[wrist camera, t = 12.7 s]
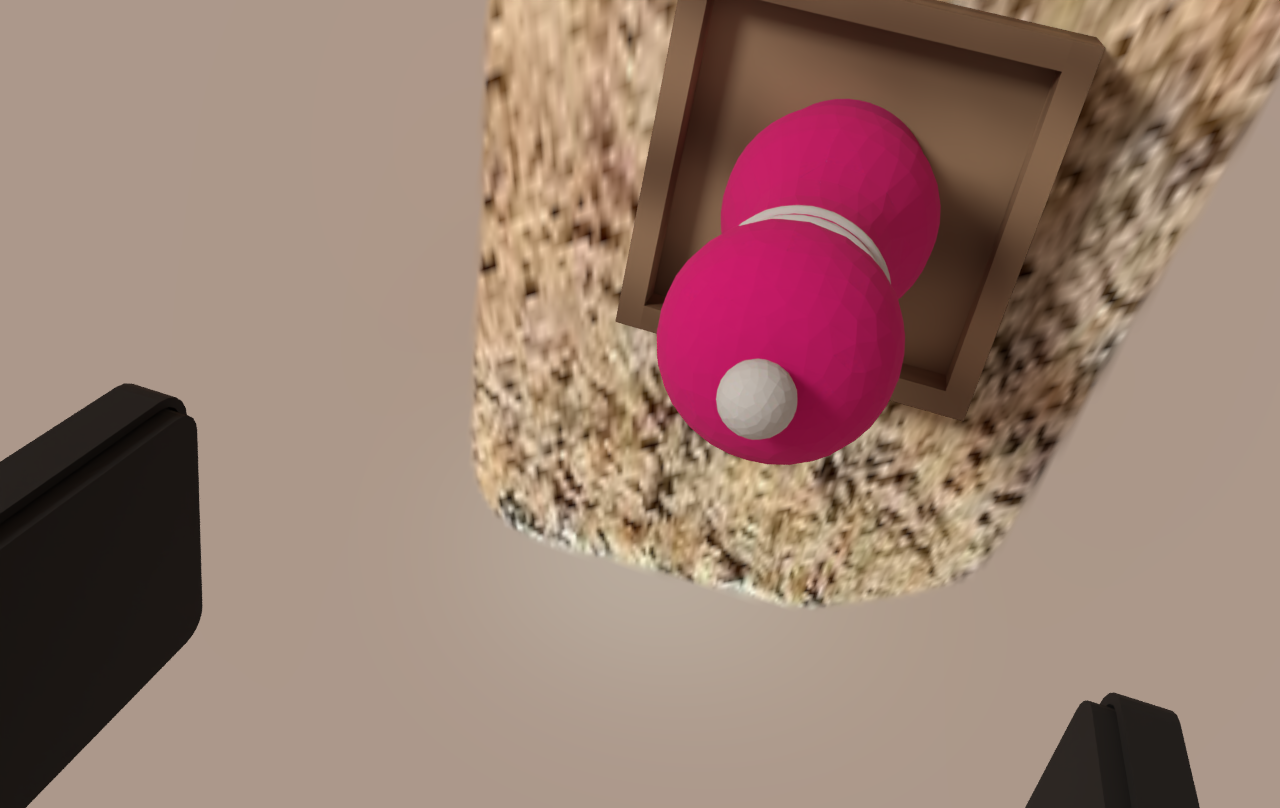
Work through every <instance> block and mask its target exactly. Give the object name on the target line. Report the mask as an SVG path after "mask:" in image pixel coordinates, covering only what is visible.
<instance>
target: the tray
mask: <svg viewBox="0 0 1280 808" xmlns="http://www.w3.org/2000/svg"><path fill="white" fill-rule="evenodd" d="M1104 49H1105V47H1104V46H1103V45H1102V43H1101V42H1100V41H1099V40H1098V39H1097V38H1096V37H1092V36H1088V35H1083V34H1079V33H1075V32H1070V31H1066V30H1062V29H1057V28H1053V27H1049V26H1045V25H1040V24H1036V23H1032V22H1027V21H1023V20H1019V19H1014V18H1010V17H1006V16H1001V15H997V14H993V13H988V12H984V11H980V10H976V9H971V8H967V7H963V6H958V5H954V4H950V3H945V2H941V1H937V0H678V2H677V7H676V12H675V17H674V23H673V28H672V33H671V38H670V43H669V48H668V54H667V59H666V64H665V69H664V74H663V79H662V84H661V90H660V95H659V100H658V105H657V110H656V115H655V121H654V126H653V131H652V136H651V141H650V146H649V152H648V157H647V162H646V167H645V172H644V177H643V182H642V188H641V193H640V198H639V203H638V208H637V213H636V219H635V224H634V229H633V234H632V239H631V244H630V250H629V255H628V260H627V265H626V270H625V275H624V280H623V286H622V291H621V296H620V301H619V306H618V311H617V317H616V322H618V323H622V324H625V325H629V326H632V327H636V328H639V329H643V330H646V331H650V332H653V333H657V329H658V324H659V319H660V313H661V309H662V306H663V303H664V301H665V298H666V295H667V293H668V291H669V289H670V287H671V285H672V283H673V281H674V279H675V277H676V275H677V274H678V272H679V271H680V270H681V269H682V267H683V266H684V265H685V263H686V262H687V261H688V260H689V259H690V258H691V257H692V256H693V255H694V254H695V253H696V252H698V251H699V250H700V249H701V248H702V247H703V246H704V245H706V244H707V243H708V242H709V241H710V240H712V239H714V238H716V237H717V236H719V235H721V234H722V233H721V208H722V201H723V195H724V192H725V189H726V186H727V183H728V180H729V177H730V174H731V172H732V170H733V168H734V166H735V164H736V162H737V159H738V158H739V156H740V155H741V153H742V152H743V151H744V149H745V148H746V146H747V145H748V144H749V143H750V142H751V141H752V140H753V139H754V138H755V136H756V135H757V134H758V133H760V132H761V131H762V130H763V129H765V128H766V127H767V126H769V125H770V124H771V123H773V122H775V121H776V120H778V119H780V118H782V117H784V116H786V115H788V114H790V113H793V112H795V111H798V110H801V109H803V108H806V107H808V106H810V105H812V104H815V103H819V102H822V101H827V100H833V99H854V100H861V101H865V102H869V103H872V104H874V105H877V106H879V107H882V108H884V109H885V110H887V111H889V112H891V113H892V114H894V115H895V116H896V117H897V118H899V119H900V120H901V121H902V122H903V123H904V124H905V125H906V126H907V127H908V128H909V129H910V131H911V132H912V134H913V135H914V136H915V138H916V139H917V141H918V143H919V145H920V147H921V149H922V151H923V154H924V155H925V157H926V158H927V160H928V161H929V163H930V166H931V168H932V171H933V174H934V176H935V179H936V182H937V184H938V191H939V198H940V205H941V209H940V225H939V229H938V234H937V239H936V242H935V244H934V247H933V250H932V252H931V254H930V257H929V259H928V261H927V263H926V265H925V267H924V269H923V271H922V273H921V274H920V276H919V277H918V279H917V280H916V282H915V283H914V284H913V286H912V287H911V288H910V289H909V290H908V291H907V292H906V293H905V294H904V295H903V296H902V297H901V298H899V299H898V301H899V305H900V309H901V313H902V317H903V322H904V331H905V352H904V359H903V363H902V368H901V372H900V376H899V380H898V382H897V384H896V387H895V389H894V391H893V394H892V396H891V398H890V401H894V402H897V403H901V404H904V405H908V406H911V407H915V408H918V409H922V410H925V411H929V412H932V413H936V414H939V415H943V416H946V417H950V418H953V419H957V420H960V421H964V418H965V416H966V413H967V411H968V408H969V405H970V403H971V400H972V397H973V395H974V392H975V389H976V387H977V384H978V382H979V379H980V376H981V374H982V371H983V368H984V366H985V363H986V360H987V358H988V355H989V353H990V350H991V347H992V345H993V342H994V339H995V337H996V334H997V331H998V329H999V326H1000V324H1001V321H1002V318H1003V316H1004V313H1005V310H1006V308H1007V305H1008V302H1009V300H1010V297H1011V294H1012V292H1013V289H1014V287H1015V284H1016V281H1017V279H1018V276H1019V273H1020V271H1021V268H1022V265H1023V263H1024V260H1025V258H1026V255H1027V252H1028V250H1029V247H1030V244H1031V242H1032V239H1033V236H1034V234H1035V231H1036V229H1037V226H1038V223H1039V221H1040V218H1041V215H1042V213H1043V210H1044V207H1045V205H1046V202H1047V200H1048V197H1049V194H1050V192H1051V189H1052V186H1053V184H1054V181H1055V178H1056V176H1057V173H1058V171H1059V168H1060V165H1061V163H1062V160H1063V157H1064V155H1065V152H1066V149H1067V147H1068V144H1069V142H1070V139H1071V136H1072V134H1073V131H1074V128H1075V126H1076V123H1077V120H1078V118H1079V115H1080V113H1081V110H1082V107H1083V105H1084V102H1085V99H1086V97H1087V94H1088V91H1089V89H1090V86H1091V83H1092V81H1093V78H1094V76H1095V73H1096V70H1097V68H1098V65H1099V62H1100V60H1101V57H1102V54H1103V52H1104Z"/></svg>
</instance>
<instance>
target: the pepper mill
mask: <svg viewBox="0 0 1280 808" xmlns="http://www.w3.org/2000/svg"><path fill="white" fill-rule="evenodd" d="M940 209H941V205H940V198H939V191H938V184H937V182H936V179H935V176H934V174H933V171H932V168H931V166H930V163H929V161H928V160H927V158H926V157H925V155H924V154H923V151H922V149H921V147H920V145H919V143H918V141H917V139H916V138H915V136H914V135H913V134H912V132H911V131H910V129H909V128H908V127H907V126H906V125H905V124H904V123H903V122H902V121H901V120H900V119H899V118H897V117H896V116H895V115H894V114H892V113H891V112H889V111H887V110H885V109H884V108H882V107H879V106H877V105H874V104H872V103H869V102H865V101H861V100H854V99H833V100H827V101H822V102H819V103H815V104H812V105H810V106H808V107H806V108H803V109H801V110H798V111H795V112H793V113H790V114H788V115H786V116H784V117H782V118H780V119H778V120H776V121H775V122H773V123H771V124H770V125H769V126H767V127H766V128H765V129H763V130H762V131H761V132H760V133H758V134H757V135H756V136H755V138H754V139H753V140H752V141H751V142H750V143H749V144H748V145H747V146H746V148H745V149H744V151H743V152H742V153H741V155H740V156H739V158H738V159H737V162H736V164H735V166H734V168H733V170H732V172H731V174H730V177H729V180H728V183H727V186H726V189H725V192H724V195H723V201H722V208H721V233H722V234H721V235H719V236H717V237H716V238H714V239H712V240H710V241H709V242H708V243H707V244H706V245H704V246H703V247H702V248H701V249H700V250H699V251H698V252H696V253H695V254H694V255H693V256H692V257H691V258H690V259H689V260H688V261H687V262H686V263H685V265H684V266H683V267H682V269H681V270H680V271H679V272H678V274H677V275H676V277H675V279H674V281H673V283H672V285H671V287H670V289H669V291H668V293H667V295H666V298H665V301H664V303H663V306H662V309H661V313H660V319H659V324H658V329H657V359H658V366H659V369H660V373H661V376H662V379H663V383H664V386H665V388H666V391H667V393H668V395H669V397H670V400H671V402H672V404H673V405H674V406H675V408H676V409H677V411H678V412H679V413H680V415H681V416H682V418H683V419H684V420H685V422H686V423H687V424H688V425H689V426H690V427H691V428H692V429H693V430H694V431H695V432H696V433H698V434H699V435H700V436H701V437H703V438H704V439H705V440H706V441H708V442H709V443H710V444H712V445H714V446H715V447H717V448H719V449H721V450H723V451H725V452H727V453H728V454H731V455H734V456H737V457H740V458H743V459H746V460H749V461H754V462H759V463H764V464H783V465H791V464H797V463H804V462H810V461H814V460H817V459H820V458H823V457H826V456H829V455H831V454H833V453H834V452H836V451H838V450H840V449H841V448H843V447H845V446H846V445H848V444H850V443H852V442H853V441H855V440H856V439H857V438H858V437H860V436H861V435H862V434H863V433H864V432H865V431H867V430H868V429H869V428H870V427H871V426H872V424H873V423H874V422H875V420H876V419H877V418H878V417H879V415H880V414H881V413H882V411H883V410H884V409H885V407H886V406H887V404H888V402H889V400H890V398H891V396H892V394H893V391H894V389H895V387H896V384H897V382H898V380H899V376H900V372H901V368H902V363H903V359H904V352H905V331H904V322H903V317H902V313H901V309H900V305H899V301H898V299H899V298H901V297H902V296H903V295H904V294H905V293H906V292H907V291H908V290H909V289H910V288H911V287H912V286H913V284H914V283H915V282H916V280H917V279H918V277H919V276H920V274H921V273H922V271H923V269H924V267H925V265H926V263H927V261H928V259H929V257H930V254H931V252H932V250H933V247H934V244H935V242H936V239H937V234H938V229H939V225H940Z"/></svg>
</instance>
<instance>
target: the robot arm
mask: <svg viewBox="0 0 1280 808" xmlns="http://www.w3.org/2000/svg"><path fill="white" fill-rule="evenodd" d="M199 514H200V513H199V477H198V443H197V427H196V423H195V421H194V419H193V418H192V417H190V416H188V415H187V414H186V408H185V406H184V404H183V402H182V401H181V400H179V399H178V398H176V397H173V396H169V395H166V394H163V393H160V392H157V391H153V390H150V389H147V388H144V387H141V386H138V385H134V384H122V385H120V386H118V387H116V388H114V389H112V390H111V391H109V392H108V393H106V394H105V395H103V396H102V397H100V398H98V399H97V400H95V401H94V402H92V403H91V404H89V405H88V406H86V407H85V408H83V409H81V410H80V411H78V412H77V413H75V414H74V415H72V416H71V417H69V418H67V419H66V420H64V421H63V422H61V423H60V424H58V425H57V426H55V427H53V428H52V429H50V430H49V431H47V432H46V433H44V434H43V435H41V436H40V437H38V438H37V439H35V440H34V441H32V442H30V443H29V444H27V445H26V446H24V447H23V448H21V449H19V450H18V451H16V452H15V453H13V454H12V455H10V456H9V457H7V458H5V459H4V460H3V461H1V462H0V808H26V807H27V806H28V805H29V804H30V803H31V802H32V800H33V799H35V798H36V797H37V795H38V794H39V793H40V792H41V791H42V790H43V789H44V788H45V787H46V786H47V785H48V784H49V783H50V782H51V781H52V780H53V779H54V778H55V777H56V776H57V775H58V774H59V773H60V772H61V771H62V770H63V769H64V768H65V767H66V766H67V765H68V763H70V762H71V761H72V760H73V758H74V757H75V756H76V755H77V754H78V753H79V752H80V751H81V750H82V749H83V748H84V747H85V746H86V745H87V744H88V743H89V742H90V741H91V740H92V739H93V738H94V737H95V736H96V735H97V734H98V733H99V732H100V731H101V730H102V729H103V728H104V727H105V726H106V725H107V723H109V721H111V720H112V718H113V717H114V716H115V715H116V714H117V713H118V712H119V711H120V710H121V709H122V708H123V707H124V706H125V705H126V704H127V703H128V702H129V701H130V700H131V699H132V698H133V697H134V696H135V695H136V694H137V693H138V692H139V691H140V689H142V688H143V687H144V686H145V685H146V684H147V683H148V681H149V680H150V679H151V678H152V677H153V676H154V675H155V674H156V673H157V672H158V671H159V670H160V669H161V668H162V667H163V666H164V665H165V664H166V663H167V662H168V661H169V660H170V659H171V658H172V657H173V656H174V655H175V654H176V653H177V652H178V651H179V650H180V649H181V648H182V647H183V645H185V644H186V643H187V641H188V640H189V639H190V638H191V636H192V635H193V633H194V631H195V630H196V628H197V626H198V623H199V621H200V617H201V613H202V580H201V547H200V546H201V545H200V515H199ZM1025 808H1200V807H1199V803H1198V798H1197V794H1196V790H1195V785H1194V781H1193V777H1192V772H1191V768H1190V764H1189V759H1188V755H1187V751H1186V746H1185V743H1184V738H1183V734H1182V729H1181V725H1180V722H1179V719H1178V717H1177V715H1176V714H1175V713H1174V712H1173V711H1171V710H1167V709H1164V708H1161V707H1158V706H1155V705H1152V704H1149V703H1145V702H1142V701H1139V700H1136V699H1132V698H1129V697H1126V696H1123V695H1120V694H1117V693H1109V694H1108V695H1107V696H1105V697H1104V698H1103V700H1102V701H1101V703H1100V704H1097V703H1094V702H1091V701H1083V702H1082V703H1081V704H1080V705H1079V707H1078V709H1077V710H1076V712H1075V714H1074V716H1073V718H1072V720H1071V722H1070V723H1069V725H1068V727H1067V729H1066V731H1065V733H1064V735H1063V737H1062V739H1061V740H1060V743H1059V745H1058V746H1057V748H1056V750H1055V752H1054V754H1053V756H1052V758H1051V760H1050V762H1049V763H1048V765H1047V767H1046V769H1045V771H1044V773H1043V775H1042V777H1041V779H1040V780H1039V782H1038V785H1037V786H1036V788H1035V790H1034V792H1033V794H1032V796H1031V798H1030V800H1029V801H1028V803H1027V805H1026V807H1025Z"/></svg>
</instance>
